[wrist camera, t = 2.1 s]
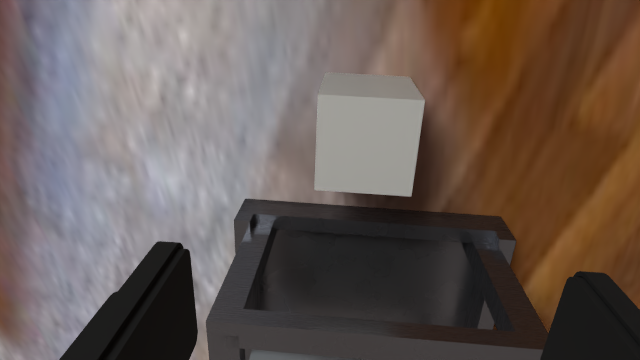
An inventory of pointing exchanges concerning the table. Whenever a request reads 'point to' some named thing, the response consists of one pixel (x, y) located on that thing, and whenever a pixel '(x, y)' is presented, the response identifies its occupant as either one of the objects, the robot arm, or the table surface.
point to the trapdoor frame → (372, 286)
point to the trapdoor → (290, 356)
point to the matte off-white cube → (367, 134)
